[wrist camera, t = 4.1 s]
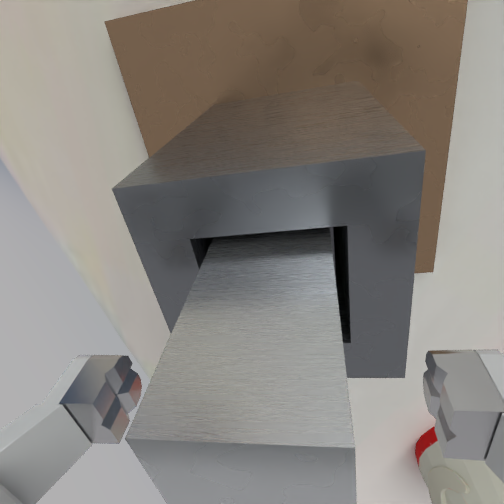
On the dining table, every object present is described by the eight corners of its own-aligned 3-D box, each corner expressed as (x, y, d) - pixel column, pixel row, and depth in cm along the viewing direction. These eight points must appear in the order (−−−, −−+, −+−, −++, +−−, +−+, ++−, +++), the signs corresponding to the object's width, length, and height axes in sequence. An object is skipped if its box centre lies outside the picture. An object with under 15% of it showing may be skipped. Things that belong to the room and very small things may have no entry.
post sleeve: (464, -59, 18) (880, -287, 5) (427, 261, 28) (529, 458, 15) (115, 22, 22) (-160, 14, 9) (196, 275, 32) (122, 441, 19)
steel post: (321, 127, 22) (368, 441, 5) (325, 191, 24) (367, 552, 8) (253, 136, 23) (110, 431, 6) (263, 198, 25) (179, 533, 8)
